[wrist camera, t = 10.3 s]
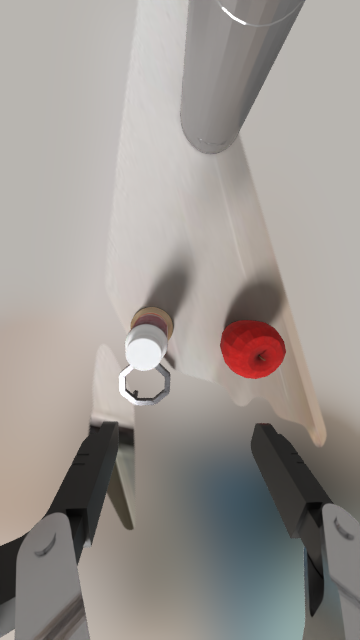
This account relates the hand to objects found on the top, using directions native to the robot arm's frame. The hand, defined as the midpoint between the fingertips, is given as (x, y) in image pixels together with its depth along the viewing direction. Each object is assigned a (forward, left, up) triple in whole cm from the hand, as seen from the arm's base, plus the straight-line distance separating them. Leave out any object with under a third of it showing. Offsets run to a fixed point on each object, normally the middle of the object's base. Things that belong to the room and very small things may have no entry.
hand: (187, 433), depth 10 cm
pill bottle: (+1, -4, -24) cm, 24 cm away
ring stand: (+12, -5, -24) cm, 28 cm away
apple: (+2, +13, -24) cm, 28 cm away
